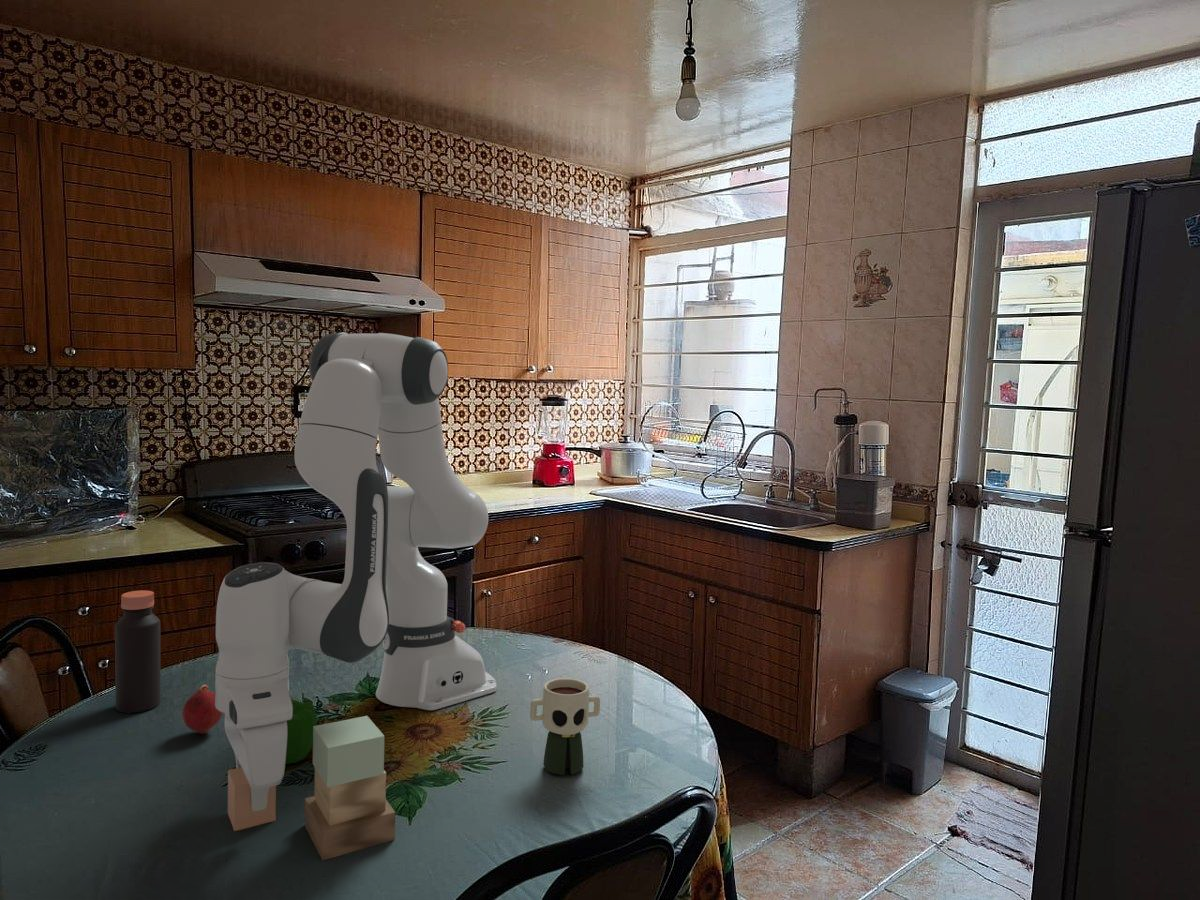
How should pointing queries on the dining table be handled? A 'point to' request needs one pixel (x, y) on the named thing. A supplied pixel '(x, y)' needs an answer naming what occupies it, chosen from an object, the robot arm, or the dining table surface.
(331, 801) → the oak cube
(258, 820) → the terracotta block
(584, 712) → the character mug
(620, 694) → the dining table surface
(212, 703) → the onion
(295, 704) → the bell pepper
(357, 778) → the sage cube
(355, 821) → the walnut slab
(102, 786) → the dining table surface
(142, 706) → the bottle
